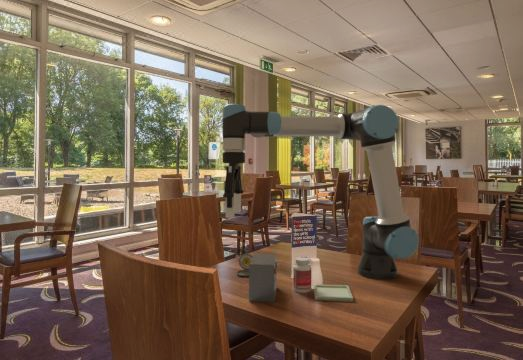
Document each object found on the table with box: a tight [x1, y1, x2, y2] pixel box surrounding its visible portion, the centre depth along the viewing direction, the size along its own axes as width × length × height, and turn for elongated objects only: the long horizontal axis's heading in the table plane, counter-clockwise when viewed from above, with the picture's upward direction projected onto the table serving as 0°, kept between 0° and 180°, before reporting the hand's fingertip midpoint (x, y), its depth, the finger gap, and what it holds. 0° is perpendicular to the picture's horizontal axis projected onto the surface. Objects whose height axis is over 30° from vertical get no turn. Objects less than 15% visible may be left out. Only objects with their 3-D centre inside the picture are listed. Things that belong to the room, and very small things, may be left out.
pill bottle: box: [292, 256, 312, 294], centre depth 128 cm, size 6×6×11 cm
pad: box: [313, 284, 354, 302], centre depth 124 cm, size 12×12×1 cm
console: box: [248, 253, 279, 303], centre depth 124 cm, size 9×14×12 cm, turn 174°
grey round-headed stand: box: [236, 247, 253, 277], centre depth 147 cm, size 8×8×10 cm
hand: (233, 214), depth 124 cm, fingers open, 13 cm apart
